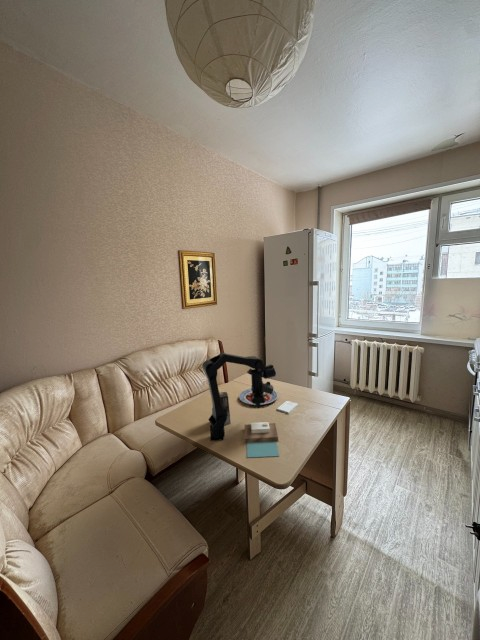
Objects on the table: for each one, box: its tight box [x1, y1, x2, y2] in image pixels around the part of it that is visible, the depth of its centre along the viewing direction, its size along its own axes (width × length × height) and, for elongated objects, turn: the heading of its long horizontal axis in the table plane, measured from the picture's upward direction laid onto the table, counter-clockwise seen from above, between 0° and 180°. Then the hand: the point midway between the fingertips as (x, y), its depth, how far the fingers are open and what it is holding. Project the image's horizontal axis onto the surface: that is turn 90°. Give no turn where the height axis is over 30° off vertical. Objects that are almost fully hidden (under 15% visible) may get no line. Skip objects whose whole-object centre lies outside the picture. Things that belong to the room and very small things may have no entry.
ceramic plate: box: [238, 387, 279, 406], centre depth 163 cm, size 26×26×3 cm
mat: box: [246, 441, 280, 459], centre depth 111 cm, size 14×10×1 cm
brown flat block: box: [244, 422, 279, 444], centre depth 122 cm, size 16×12×2 cm
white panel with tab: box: [250, 421, 270, 433], centre depth 123 cm, size 9×6×3 cm, turn 89°
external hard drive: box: [276, 400, 299, 415], centre depth 148 cm, size 2×8×12 cm
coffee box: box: [211, 391, 232, 425], centre depth 136 cm, size 9×6×16 cm
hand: (258, 408), depth 131 cm, fingers closed
